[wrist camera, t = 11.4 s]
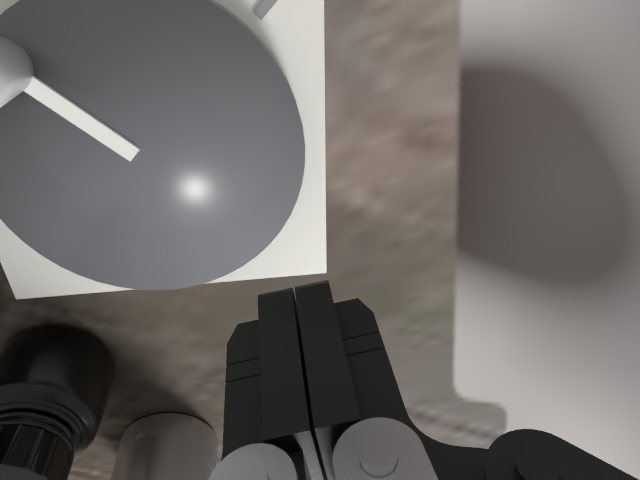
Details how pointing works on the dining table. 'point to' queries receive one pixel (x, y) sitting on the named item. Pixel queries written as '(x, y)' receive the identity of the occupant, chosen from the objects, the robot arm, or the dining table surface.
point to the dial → (144, 139)
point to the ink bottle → (50, 400)
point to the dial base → (310, 209)
